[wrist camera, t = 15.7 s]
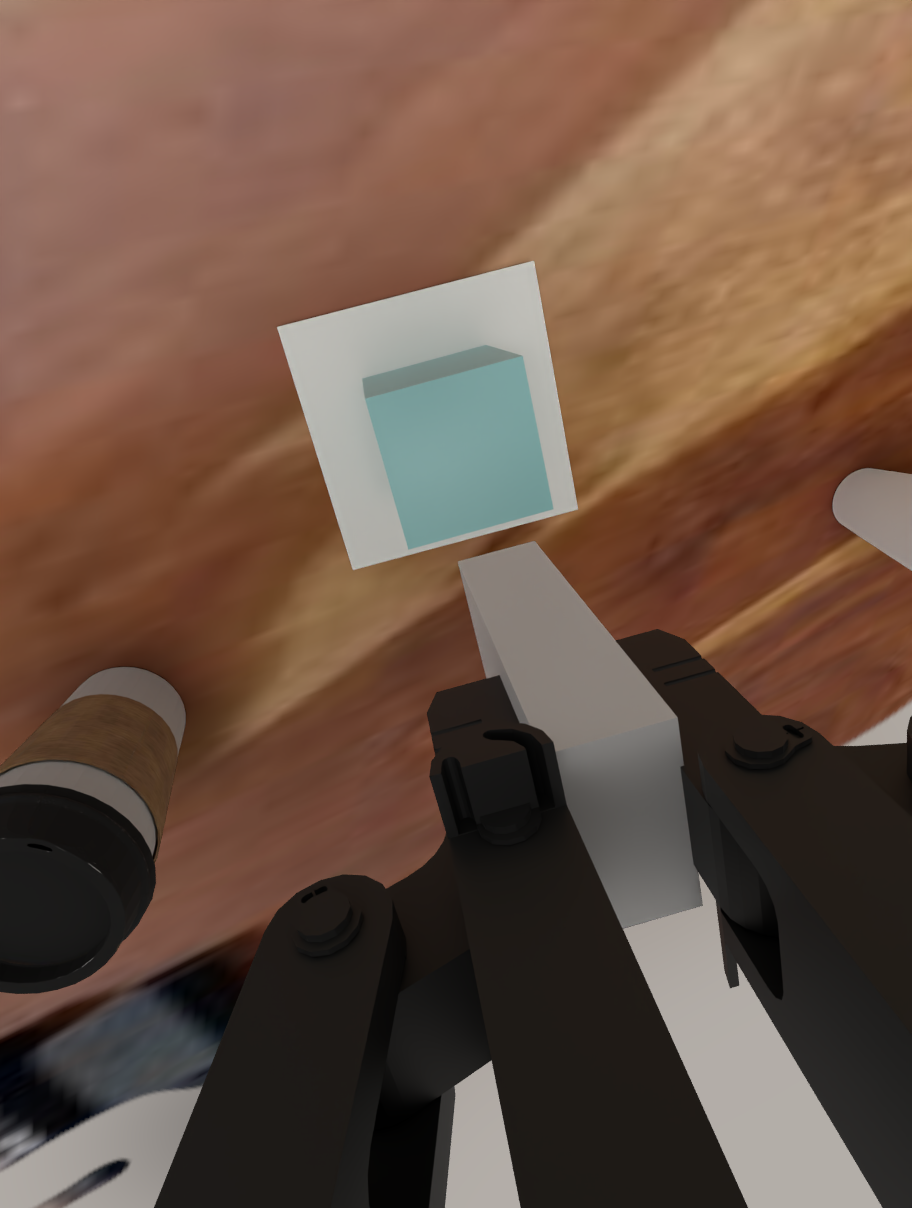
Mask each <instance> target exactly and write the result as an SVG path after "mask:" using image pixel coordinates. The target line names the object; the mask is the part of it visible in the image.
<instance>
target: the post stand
mask: <svg viewBox="0 0 912 1208" xmlns="http://www.w3.org/2000/svg"><path fill="white" fill-rule="evenodd" d="M277 329H278V332H279V335H280V338H281V342H282V345H283V348H284V351H285V354H286V358H287V361H288V364H289V367H290V370H291V374H292V377H293V380H294V383H295V386H296V390H297V393H298V396H299V399H300V402H301V406H302V409H303V412H304V415H305V418H306V422H307V425H308V428H309V431H310V434H311V438H312V441H313V444H314V447H315V450H316V454H317V457H318V460H319V463H320V466H321V470H322V473H323V476H324V479H325V482H326V486H327V489H328V492H329V495H330V498H331V502H332V505H333V508H334V511H335V514H336V518H337V521H338V524H339V527H340V530H341V534H342V537H343V540H344V543H345V546H346V550H347V553H348V556H349V559H350V562H351V566H352V569H353V570H355V569H359V568H363V567H366V566H370V565H374V564H378V563H381V562H385V561H389V560H392V559H396V558H400V557H404V556H407V555H411V554H415V553H418V552H422V551H426V550H430V549H433V548H437V547H441V546H444V545H448V544H452V543H456V542H459V541H463V540H467V539H470V538H474V537H478V536H482V535H485V534H489V533H493V532H496V531H500V530H504V529H508V528H511V527H515V526H519V525H522V524H526V523H530V522H534V521H537V520H541V519H545V518H548V517H552V516H556V515H560V514H563V513H567V512H571V511H574V510H578V506H577V501H576V495H575V489H574V484H573V478H572V472H571V467H570V461H569V455H568V450H567V444H566V439H565V433H564V427H563V422H562V416H561V410H560V405H559V399H558V393H557V388H556V382H555V377H554V371H553V365H552V360H551V354H550V348H549V343H548V337H547V331H546V326H545V320H544V314H543V309H542V303H541V298H540V292H539V286H538V281H537V275H536V269H535V264H534V261H530V262H526V263H523V264H519V265H515V266H511V267H507V268H503V269H499V270H495V271H492V272H488V273H484V274H480V275H476V276H472V277H468V278H465V279H461V280H457V281H453V282H449V283H445V284H441V285H437V286H434V287H430V288H426V289H422V290H418V291H414V292H410V293H407V294H403V295H399V296H395V297H391V298H387V299H383V300H379V301H376V302H372V303H368V304H364V305H360V306H356V307H352V308H349V309H345V310H341V311H337V312H333V313H329V314H325V315H321V316H318V317H314V318H310V319H306V320H302V321H298V322H294V323H291V324H287V325H283V326H279V327H277ZM483 345H488V346H492V347H495V348H498V349H502V350H505V351H508V352H512V353H515V354H518V355H522V356H523V360H524V365H525V370H526V375H527V380H528V384H529V389H530V394H531V399H532V404H533V409H534V414H535V419H536V424H537V429H538V434H539V439H540V444H541V449H542V454H543V459H544V464H545V469H546V474H547V479H548V484H549V489H550V494H551V499H552V504H553V509H552V510H549V511H545V512H542V513H538V514H535V515H531V516H527V517H524V518H520V519H517V520H513V521H509V522H506V523H502V524H499V525H495V526H492V527H488V528H484V529H481V530H477V531H474V532H470V533H466V534H463V535H459V536H456V537H452V538H449V539H445V540H441V541H438V542H434V543H431V544H427V545H423V546H420V547H416V548H413V549H409V550H408V546H407V543H406V539H405V536H404V533H403V529H402V526H401V522H400V519H399V515H398V512H397V508H396V505H395V501H394V498H393V494H392V491H391V488H390V484H389V481H388V477H387V474H386V470H385V467H384V463H383V460H382V456H381V453H380V449H379V446H378V442H377V439H376V436H375V432H374V429H373V425H372V422H371V418H370V415H369V411H368V408H367V404H366V401H365V396H364V389H363V381H362V378H366V377H370V376H373V375H377V374H381V373H384V372H388V371H392V370H395V369H399V368H403V367H406V366H410V365H414V364H417V363H421V362H425V361H428V360H432V359H436V358H439V357H443V356H447V355H450V354H454V353H458V352H461V351H465V350H469V349H472V348H476V347H480V346H483Z"/></svg>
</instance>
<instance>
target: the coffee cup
mask: <svg viewBox="0 0 912 1208" xmlns="http://www.w3.org/2000/svg"><path fill="white" fill-rule="evenodd" d="M185 724H186V712H185V708H184V704H183V702H182V700H181V698H180V696H179V694H178V693H177V692H176V690H175V689H174V688H173V687H172V686H171V685H170V684H169V683H168V682H167V681H166V680H164V679H163V678H161V677H159V676H158V675H156V674H154V673H152V672H149V671H147V670H143V669H139V668H134V667H117V668H110V669H106V670H103V671H100V672H98V673H96V674H94V675H92V676H91V677H90V678H88V679H87V680H86V681H85V682H84V683H82V684H81V685H80V686H79V687H78V688H77V689H76V691H75V692H74V693H73V694H72V695H71V696H70V697H69V698H68V699H67V700H66V701H65V702H64V704H63V705H62V706H61V707H60V708H59V709H58V710H57V711H55V712H54V713H53V714H52V715H51V716H50V717H49V718H48V719H47V720H46V721H45V722H44V723H43V724H42V725H41V726H40V727H39V728H38V729H37V730H36V731H35V732H34V733H33V734H32V735H31V736H30V737H29V738H28V739H27V740H26V741H25V742H24V743H23V744H22V745H21V746H20V747H19V748H18V749H17V750H16V751H15V752H14V753H13V754H12V755H11V756H10V757H9V758H8V759H7V760H6V761H5V762H4V763H3V764H2V765H1V766H0V992H6V993H15V994H28V993H42V992H48V991H53V990H58V989H61V988H64V987H67V986H70V985H73V984H76V983H78V982H80V981H81V980H83V979H85V978H87V977H89V976H91V975H92V974H94V973H95V972H96V971H97V970H99V969H100V968H101V967H102V966H104V965H105V964H106V963H107V962H108V960H109V959H110V958H111V957H112V956H113V955H114V954H115V952H116V951H117V949H118V948H119V946H120V944H121V942H122V941H123V940H125V939H126V938H127V937H128V936H129V934H130V933H131V932H132V931H133V930H134V929H135V927H136V926H137V925H138V924H139V922H140V920H141V918H142V916H143V914H144V913H145V911H146V909H147V907H148V906H149V904H150V902H151V900H152V897H153V893H154V888H155V884H156V874H155V864H154V863H155V861H156V859H157V856H158V852H159V847H160V843H161V838H162V833H163V828H164V823H165V819H166V814H167V809H168V804H169V799H170V794H171V789H172V785H173V780H174V775H175V770H176V765H177V760H178V753H179V749H180V746H181V742H182V737H183V733H184V729H185Z"/></svg>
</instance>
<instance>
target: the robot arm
mask: <svg viewBox="0 0 912 1208" xmlns="http://www.w3.org/2000/svg"><path fill="white" fill-rule="evenodd" d="M458 565H459V569H460V573H461V577H462V581H463V585H464V590H465V594H466V598H467V602H468V606H469V610H470V614H471V618H472V622H473V626H474V630H475V634H476V638H477V642H478V646H479V650H480V654H481V658H482V662H483V667H484V671H485V675H486V679H483V680H480V681H476V682H472V683H469V684H465V685H461V686H458V687H454V688H451V689H447V690H443V691H440V692H437V693H436V695H435V697H434V699H433V701H432V703H431V705H430V708H429V710H428V712H427V716H428V721H429V726H430V731H431V735H432V741H433V746H434V751H435V757H434V759H433V760H432V762H431V769H430V780H431V783H432V787H433V790H434V793H435V797H436V800H437V803H438V807H439V810H440V813H441V817H442V820H443V823H444V827H445V830H446V836H445V839H444V841H443V843H442V844H441V846H440V848H439V849H438V851H437V852H436V854H435V855H434V856H433V857H432V858H431V859H430V860H429V861H428V862H427V863H426V864H425V865H424V866H423V867H421V868H420V869H418V870H417V871H415V872H414V873H412V874H411V875H409V876H408V877H406V878H405V879H403V880H401V881H399V882H398V883H396V884H394V885H392V886H390V887H389V888H387V889H385V887H384V886H383V884H381V883H379V882H377V881H375V880H373V879H371V878H369V877H367V876H362V875H340V876H336V877H332V878H328V879H324V880H320V881H318V882H316V883H314V884H313V885H311V886H309V887H307V888H305V889H303V890H301V891H300V892H298V893H296V894H295V895H294V896H293V897H292V898H291V899H290V900H289V901H288V902H286V903H285V904H284V905H283V906H282V907H281V908H280V909H279V910H278V911H277V912H276V914H275V916H274V917H273V919H272V921H271V922H270V924H269V925H268V927H267V929H266V930H265V932H264V935H263V937H262V940H261V942H260V945H259V947H258V950H257V952H256V955H255V957H254V960H253V962H252V965H251V967H250V970H249V972H248V975H247V977H246V980H245V982H244V985H243V987H242V990H241V992H240V995H239V997H238V1000H237V1002H236V1005H235V1007H234V1010H233V1012H232V1015H231V1017H230V1020H229V1022H228V1025H227V1027H226V1030H225V1032H224V1035H223V1037H222V1039H221V1042H220V1044H219V1047H218V1049H217V1052H216V1054H215V1057H214V1059H213V1062H212V1064H211V1067H210V1069H209V1072H208V1074H207V1077H206V1079H205V1082H204V1084H203V1087H202V1089H201V1092H200V1094H199V1097H198V1099H197V1102H196V1104H195V1107H194V1109H193V1112H192V1114H191V1117H190V1119H189V1122H188V1124H187V1127H186V1129H185V1132H184V1134H183V1137H182V1139H181V1142H180V1144H179V1147H178V1149H177V1152H176V1154H175V1157H174V1159H173V1162H172V1164H171V1167H170V1169H169V1172H168V1174H167V1177H166V1179H165V1182H164V1184H163V1187H162V1189H161V1192H160V1194H159V1197H158V1199H157V1201H156V1204H155V1207H154V1208H445V1199H446V1189H447V1178H448V1167H449V1157H450V1146H451V1135H452V1125H453V1114H454V1103H455V1088H454V1086H455V1085H456V1084H458V1083H459V1082H461V1081H462V1080H463V1079H465V1078H466V1077H468V1076H469V1075H471V1074H472V1073H474V1072H475V1071H476V1070H478V1069H479V1068H481V1067H482V1066H484V1065H485V1064H486V1063H488V1062H489V1061H491V1060H492V1064H493V1069H494V1074H495V1079H496V1084H497V1089H498V1094H499V1099H500V1105H501V1109H502V1115H503V1120H504V1125H505V1130H506V1135H507V1140H508V1145H509V1149H510V1155H511V1160H512V1165H513V1171H514V1176H515V1181H516V1186H517V1191H518V1196H519V1201H520V1206H521V1208H748V1207H747V1204H746V1202H745V1200H744V1198H743V1195H742V1193H741V1191H740V1189H739V1187H738V1184H737V1182H736V1180H735V1178H734V1175H733V1173H732V1171H731V1169H730V1167H729V1164H728V1162H727V1160H726V1158H725V1155H724V1153H723V1151H722V1149H721V1147H720V1144H719V1142H718V1140H717V1138H716V1135H715V1133H714V1131H713V1129H712V1127H711V1124H710V1122H709V1120H708V1118H707V1115H706V1114H705V1111H704V1109H703V1107H702V1105H701V1102H700V1100H699V1098H698V1095H697V1093H696V1091H695V1089H694V1086H693V1084H692V1082H691V1080H690V1078H689V1076H688V1074H687V1071H686V1069H685V1066H684V1064H683V1062H682V1060H681V1058H680V1055H679V1053H678V1051H677V1049H676V1046H675V1044H674V1042H673V1040H672V1038H671V1035H670V1033H669V1031H668V1029H667V1027H666V1024H665V1022H664V1020H663V1018H662V1016H661V1013H660V1011H659V1009H658V1007H657V1004H656V1002H655V1000H654V998H653V995H652V993H651V991H650V989H649V987H648V984H647V982H646V980H645V978H644V975H643V973H642V971H641V969H640V966H639V964H638V962H637V960H636V958H635V955H634V953H633V951H632V949H631V946H630V944H629V942H628V940H627V938H626V935H625V933H624V931H623V929H624V928H627V927H631V926H634V925H638V924H641V923H645V922H648V921H651V920H655V919H658V918H662V917H665V916H668V915H672V914H675V913H679V912H682V911H686V910H689V909H693V908H696V907H700V906H703V904H702V897H701V889H700V882H699V874H700V875H701V877H702V879H703V880H704V882H705V883H706V885H707V887H708V888H709V890H710V891H711V893H712V894H713V896H714V898H715V899H716V905H717V914H718V921H719V930H720V938H721V946H722V954H723V962H724V969H725V974H726V976H727V980H728V983H729V986H730V988H732V987H736V986H739V979H738V970H737V963H738V965H739V967H740V968H741V970H742V971H743V973H744V975H745V977H746V978H747V980H748V982H749V983H750V985H751V987H752V988H753V990H754V992H755V993H756V995H757V997H758V999H759V1000H760V1002H761V1004H762V1005H763V1007H764V1008H765V1010H766V1012H767V1013H768V1015H769V1017H770V1019H771V1020H772V1022H773V1024H774V1026H775V1027H776V1029H777V1030H778V1032H779V1034H780V1035H781V1037H782V1039H783V1041H784V1042H785V1044H786V1046H787V1047H788V1049H789V1051H790V1052H791V1054H792V1056H793V1057H794V1059H795V1061H796V1062H797V1064H798V1066H799V1068H800V1069H801V1071H802V1073H803V1074H804V1076H805V1078H806V1079H807V1081H808V1083H809V1084H810V1086H811V1088H812V1089H813V1091H814V1093H815V1094H816V1096H817V1098H818V1100H819V1101H820V1103H821V1105H822V1106H823V1108H824V1110H825V1111H826V1113H827V1115H828V1116H829V1118H830V1120H831V1121H832V1123H833V1125H834V1126H835V1128H836V1130H837V1131H838V1133H839V1135H840V1137H841V1138H842V1140H843V1141H844V1143H845V1145H846V1147H847V1148H848V1150H849V1152H850V1153H851V1155H852V1156H853V1158H854V1160H855V1162H856V1163H857V1165H858V1167H859V1168H860V1170H861V1172H862V1174H863V1175H864V1177H865V1179H866V1180H867V1182H868V1184H869V1185H870V1187H871V1188H872V1190H873V1192H874V1194H875V1196H876V1197H877V1199H878V1201H879V1202H880V1204H881V1206H882V1207H883V1208H912V716H911V717H910V720H909V725H908V729H907V743H899V744H884V745H866V746H833V745H832V744H831V743H830V742H828V741H827V740H826V739H825V738H824V737H823V736H822V735H821V734H820V733H818V732H817V731H815V730H813V729H812V728H810V727H808V726H807V725H805V724H804V723H802V722H799V721H795V720H792V719H788V718H785V717H781V716H771V715H761V714H760V713H759V712H758V711H757V710H756V709H755V708H754V707H753V706H752V705H751V704H750V703H749V702H748V701H747V700H746V699H745V698H744V697H743V696H742V695H741V694H740V693H739V692H738V691H737V690H736V689H735V688H734V687H733V686H732V685H731V684H730V683H729V682H728V681H727V680H726V679H725V678H724V677H723V676H722V675H720V674H719V673H718V672H717V673H716V672H715V669H714V668H713V667H712V666H711V665H710V664H709V663H708V662H707V661H706V660H705V659H702V658H701V655H700V654H699V653H698V652H697V651H696V650H695V649H694V648H693V647H692V646H691V645H690V644H689V643H688V642H687V641H686V640H685V639H682V638H680V637H677V636H675V635H672V634H669V633H667V632H664V631H661V630H659V629H656V630H652V631H649V632H645V633H641V634H638V635H634V636H630V637H627V638H623V639H620V640H616V641H615V640H614V638H613V637H612V636H611V635H610V633H609V632H608V631H607V630H606V628H605V627H604V626H603V625H602V624H601V622H600V621H599V620H598V619H597V617H596V616H595V615H594V614H593V612H592V611H591V610H590V609H589V608H588V606H587V605H586V604H585V603H584V601H583V600H582V599H581V598H580V596H579V595H578V594H577V593H576V591H575V590H574V589H573V588H572V587H571V585H570V584H569V583H568V582H567V580H566V579H565V578H564V577H563V575H562V574H561V573H560V572H559V571H558V569H557V568H556V567H555V566H554V564H553V563H552V562H551V561H550V559H549V558H548V557H547V556H546V554H545V553H544V552H543V551H542V550H541V548H540V547H539V546H538V545H537V543H536V542H535V541H532V542H529V543H525V544H521V545H517V546H514V547H510V548H506V549H503V550H499V551H495V552H491V553H488V554H484V555H480V556H476V557H473V558H469V559H465V560H462V561H458ZM698 872H699V874H698Z"/></svg>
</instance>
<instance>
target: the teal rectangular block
mask: <svg viewBox="0 0 912 1208" xmlns="http://www.w3.org/2000/svg"><path fill="white" fill-rule="evenodd" d="M362 381H363V389H364V396H365V401H366V404H367V408H368V411H369V415H370V418H371V422H372V425H373V429H374V432H375V436H376V439H377V442H378V446H379V449H380V453H381V456H382V460H383V463H384V467H385V470H386V474H387V477H388V481H389V484H390V488H391V491H392V494H393V498H394V501H395V505H396V508H397V512H398V515H399V519H400V522H401V526H402V529H403V533H404V536H405V539H406V543H407V546H408V550H409V549H413V548H416V547H420V546H423V545H427V544H431V543H434V542H438V541H441V540H445V539H449V538H452V537H456V536H459V535H463V534H466V533H470V532H474V531H477V530H481V529H484V528H488V527H492V526H495V525H499V524H502V523H506V522H509V521H513V520H517V519H520V518H524V517H527V516H531V515H535V514H538V513H542V512H545V511H549V510H552V509H553V504H552V499H551V494H550V489H549V484H548V479H547V474H546V469H545V464H544V459H543V454H542V449H541V444H540V439H539V434H538V429H537V424H536V419H535V414H534V409H533V404H532V399H531V394H530V389H529V384H528V380H527V375H526V370H525V365H524V360H523V356H522V355H518V354H515V353H512V352H508V351H505V350H502V349H498V348H495V347H492V346H488V345H483V346H480V347H476V348H472V349H469V350H465V351H461V352H458V353H454V354H450V355H447V356H443V357H439V358H436V359H432V360H428V361H425V362H421V363H417V364H414V365H410V366H406V367H403V368H399V369H395V370H392V371H388V372H384V373H381V374H377V375H373V376H370V377H366V378H362Z"/></svg>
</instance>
